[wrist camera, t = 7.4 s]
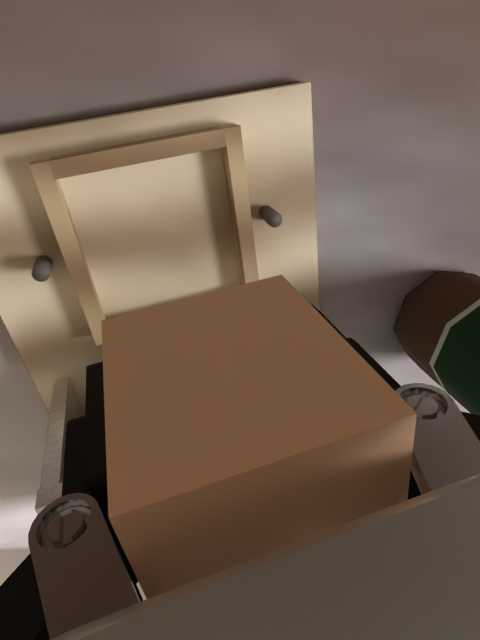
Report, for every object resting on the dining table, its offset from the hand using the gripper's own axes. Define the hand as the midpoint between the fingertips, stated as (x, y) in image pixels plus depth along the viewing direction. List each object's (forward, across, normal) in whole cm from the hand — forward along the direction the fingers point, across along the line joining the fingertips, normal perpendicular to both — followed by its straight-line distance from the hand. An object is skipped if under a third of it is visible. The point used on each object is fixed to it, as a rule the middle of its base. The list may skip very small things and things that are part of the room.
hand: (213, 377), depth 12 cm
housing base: (+14, 0, +6) cm, 15 cm away
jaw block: (+1, 0, 0) cm, 1 cm away
